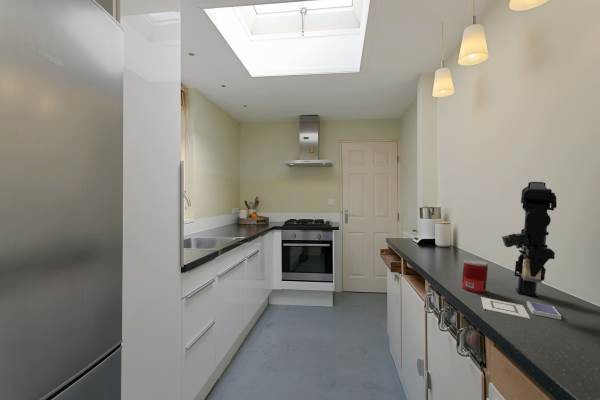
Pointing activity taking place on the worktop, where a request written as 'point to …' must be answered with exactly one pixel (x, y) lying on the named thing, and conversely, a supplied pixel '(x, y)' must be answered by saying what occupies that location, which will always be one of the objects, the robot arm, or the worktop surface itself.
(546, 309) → the ink pad
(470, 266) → the canned food
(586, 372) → the worktop surface
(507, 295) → the worktop surface
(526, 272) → the stamp
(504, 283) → the worktop surface
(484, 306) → the print card
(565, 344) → the worktop surface
